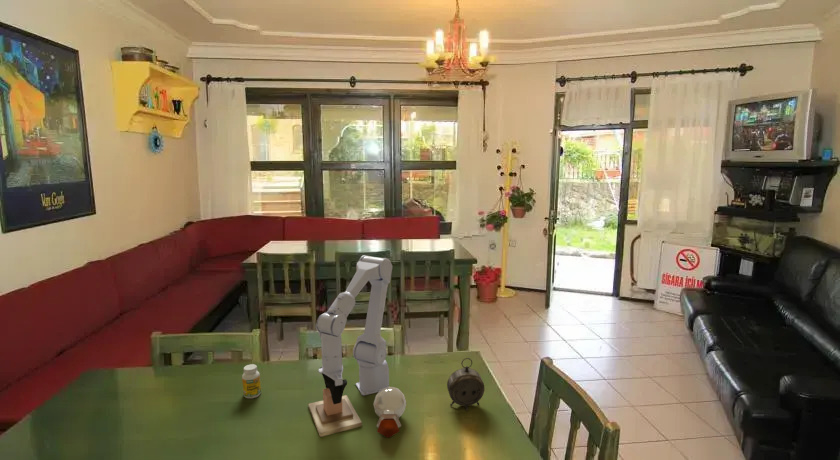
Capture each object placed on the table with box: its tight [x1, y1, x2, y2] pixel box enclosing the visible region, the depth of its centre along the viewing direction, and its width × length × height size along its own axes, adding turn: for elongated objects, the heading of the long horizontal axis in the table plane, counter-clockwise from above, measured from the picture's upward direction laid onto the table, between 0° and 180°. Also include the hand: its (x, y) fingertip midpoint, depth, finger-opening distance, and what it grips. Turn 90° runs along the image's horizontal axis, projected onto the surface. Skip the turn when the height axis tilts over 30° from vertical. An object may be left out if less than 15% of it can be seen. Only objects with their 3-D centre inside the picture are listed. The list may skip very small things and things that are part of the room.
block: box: [322, 388, 343, 416], centre depth 137 cm, size 4×4×6 cm
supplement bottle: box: [241, 363, 262, 399], centre depth 149 cm, size 5×5×10 cm
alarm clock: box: [446, 357, 485, 412], centre depth 141 cm, size 11×5×16 cm, turn 96°
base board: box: [308, 394, 363, 438], centre depth 138 cm, size 12×16×2 cm
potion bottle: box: [373, 385, 407, 439], centre depth 134 cm, size 9×10×15 cm
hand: (333, 396), depth 137 cm, fingers open, 7 cm apart
